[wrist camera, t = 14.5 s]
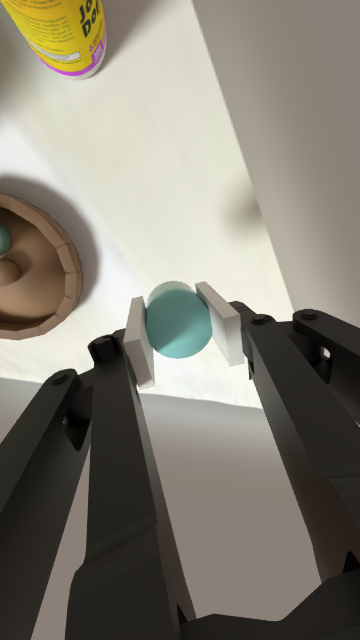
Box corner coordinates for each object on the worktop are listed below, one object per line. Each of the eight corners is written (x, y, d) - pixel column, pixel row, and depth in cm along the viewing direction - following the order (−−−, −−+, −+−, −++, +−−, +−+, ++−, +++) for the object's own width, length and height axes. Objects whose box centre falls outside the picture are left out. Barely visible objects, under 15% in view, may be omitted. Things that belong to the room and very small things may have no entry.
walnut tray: (-104, 209, 21) (-135, 207, 19) (51, 180, 22) (39, 174, 20) (-20, 341, 27) (-35, 352, 25) (99, 315, 28) (95, 323, 26)
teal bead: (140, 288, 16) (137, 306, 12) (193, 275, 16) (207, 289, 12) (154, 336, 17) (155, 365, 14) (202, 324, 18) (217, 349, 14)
